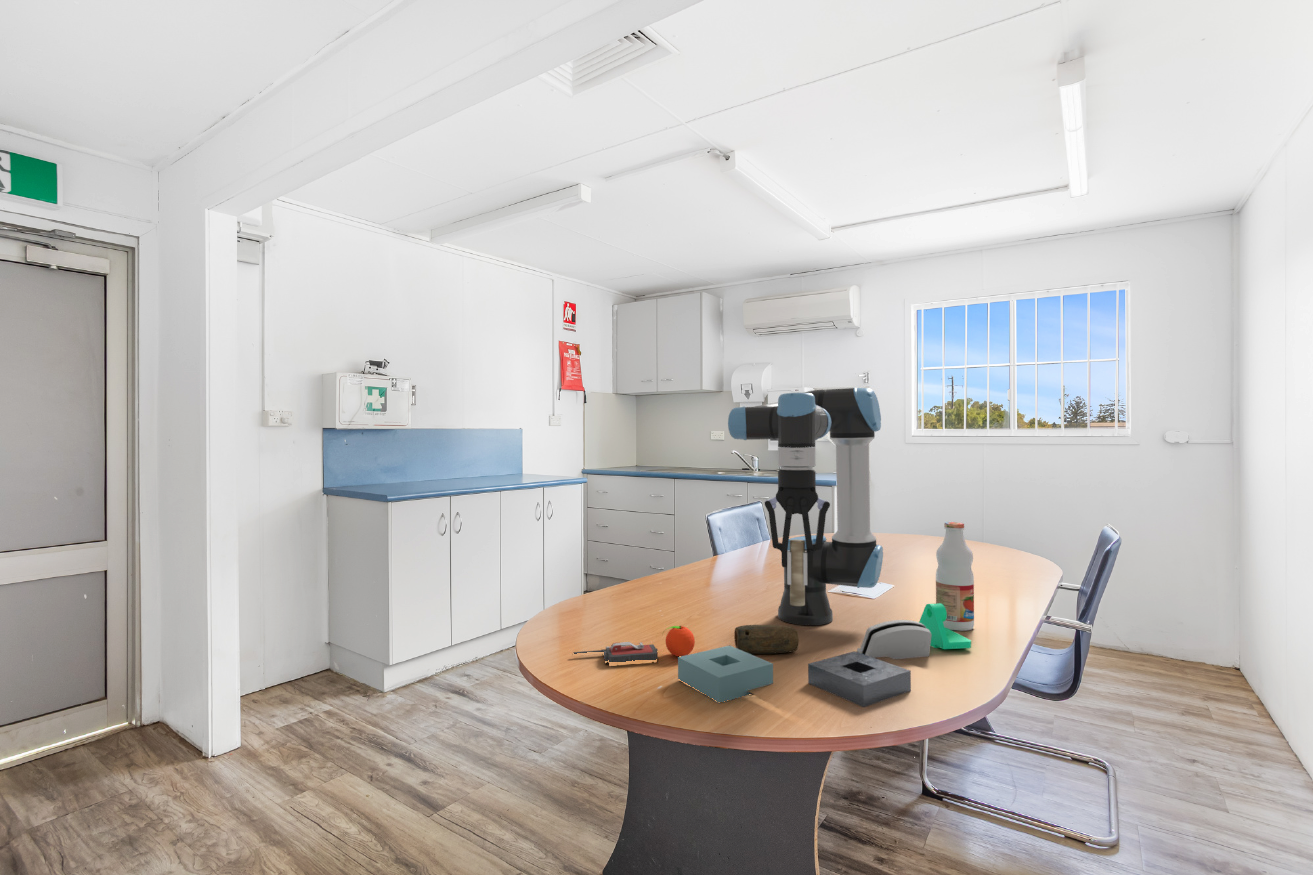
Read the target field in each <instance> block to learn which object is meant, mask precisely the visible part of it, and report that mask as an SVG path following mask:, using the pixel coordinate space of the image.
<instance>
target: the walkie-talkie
mask: <svg viewBox="0 0 1313 875" xmlns="http://www.w3.org/2000/svg"><path fill="white" fill-rule="evenodd" d="M658 650H659V649H658V648H657V647H656V646H655V645H654V644H643V642H641V641H640V642H639V644H636V645H635V644H634V643H632V642H630V641H623V642H613V643H612V644H611V645H610V646H605V649H600V650H599V649H598V650H597V649H596V650H587V651H586V650H584V651H583V650H582V651H574V652H573V653H574V654H577V653H587V652H604V658H603V660H604V659H605V661H608V660H609V662H626V661H632V660H633V661H635V660H656V659H658V658H659V657H658V655H659V654H658V652H657V651H658ZM658 660H659V659H658Z"/></svg>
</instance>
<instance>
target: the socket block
mask: <svg viewBox="0 0 1313 875" xmlns="http://www.w3.org/2000/svg"><path fill="white" fill-rule="evenodd" d="M678 679H680V680H681V681H683V682H685V683H687V684H688V685H690V686H691V687H694V688H695V689H697V690H699V691H700V692H702V693H704V694H706V695H707V696H709V697H710V698H713V699H714V700H716V701H717V702H716V701H715V702H716V703H718V702H723V703H725V702H724V701H726V702H728V701H727V700H730V701H733V700H736V699H735V698H737V699H739V697H740V698H742V696H744V697H748V696H750V695H749V694H751V695H753V693H752V692H750V691H751V690H755V689H759V688H761V687H765V686H769V685H772V684H774V664H773V662H770V661H768V660H765V659H763V658H761V657H758V656H756V655H755V654H749V653H746V652H744V651H742V650H739V649H737V648H736V647H734V646H732V645H726V646H721V647H717V648H711V649H708V650H704V651H698V652H695V653H691V654H690V653H689V654H688V655H685V656H681V657H678V656H677V680H678ZM707 696H706V697H707ZM710 698H709V699H710ZM732 699H733V700H732ZM714 700H713V701H714Z"/></svg>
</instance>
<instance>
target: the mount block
mask: <svg viewBox="0 0 1313 875" xmlns="http://www.w3.org/2000/svg"><path fill="white" fill-rule="evenodd" d="M807 666H808V668H807V670H808V671H807V676H808V678H807V683H808V685H811V686H814V687H816V688H818V689H821V690H823V691H824V692H828V693H830V694H832V695H834V696H836V697H839V698H842V699H843V700H846V701H848V702H851V703H853V704H856V705H857V706H860V707H862V708H866V707H868V706H871V705H874V704H877V703H881V702H883V701H886V700H889V699H891V698H895V697H897V696H900V695H903V694H906V693H909V692H911V691H912V690H911V687H912V682H911V680H912V678H911V677H912V676H911V675H912V674H911V670H910V669H907V668H904V667H902V666H899V665H895V664H892V663H889V662H887V661H884V660H881V659H878V658H872V657H870V656H867V655H864V654H861V653H859V652H857V651H854V650H853V651H850V652H846V653H843V654H839V655H835V656H832V657H828V658H824V659H821V660H816V661H813V662H810V663H808V665H807Z"/></svg>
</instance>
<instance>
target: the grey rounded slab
mask: <svg viewBox="0 0 1313 875" xmlns="http://www.w3.org/2000/svg"><path fill="white" fill-rule="evenodd" d="M930 644H931V633H930V631H929V629H927V628H926V627H925V625H923V624H921V623H919V621H915V620H909V619H896V620H887V621H884V622H879V623H877V624H874V625H872V626H869V627H868V628H867V629H866V632H865V634H864V636H863V639H862V642H861V645H860V647H858V648H857V649H856V652H858V653H861V654H864V655H867V656H870V657H872V658H875V659H878V658H884V657H885V658H886V657H887V658H890V659H893V660H902V659H903V660H905V659H915V658H924V657H925V658H926V657H929V656H930V651H931V646H930Z"/></svg>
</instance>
